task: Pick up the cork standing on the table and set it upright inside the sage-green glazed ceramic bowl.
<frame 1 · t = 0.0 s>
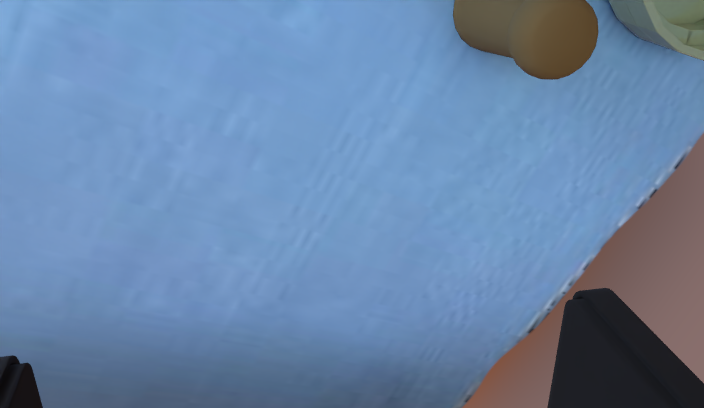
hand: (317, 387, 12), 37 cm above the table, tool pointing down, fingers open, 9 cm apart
cork: (492, 8, 47), on the table
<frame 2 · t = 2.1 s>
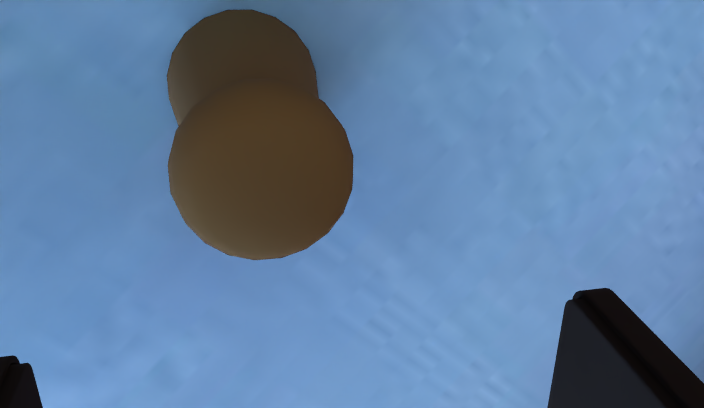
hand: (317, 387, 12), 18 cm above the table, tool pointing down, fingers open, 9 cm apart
cork: (243, 83, 27), on the table
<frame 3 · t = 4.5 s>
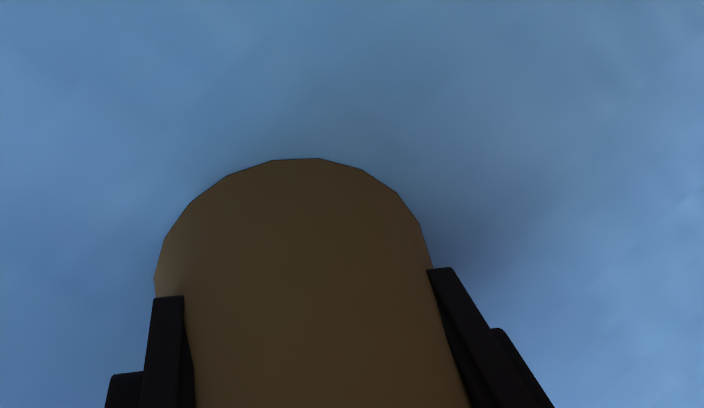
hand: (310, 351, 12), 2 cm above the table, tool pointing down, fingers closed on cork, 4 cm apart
cork: (295, 280, 15), on the table, touching gripper
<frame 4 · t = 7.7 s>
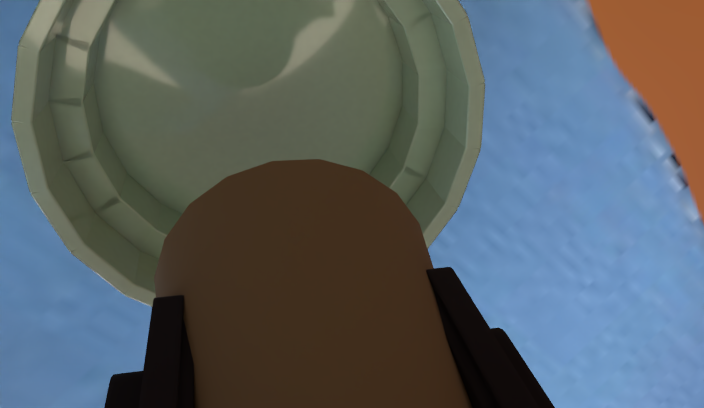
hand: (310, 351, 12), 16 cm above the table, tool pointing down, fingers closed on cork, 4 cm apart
cork: (295, 281, 15), point 14 cm above the table, touching gripper
bowl: (254, 90, 27), on the table
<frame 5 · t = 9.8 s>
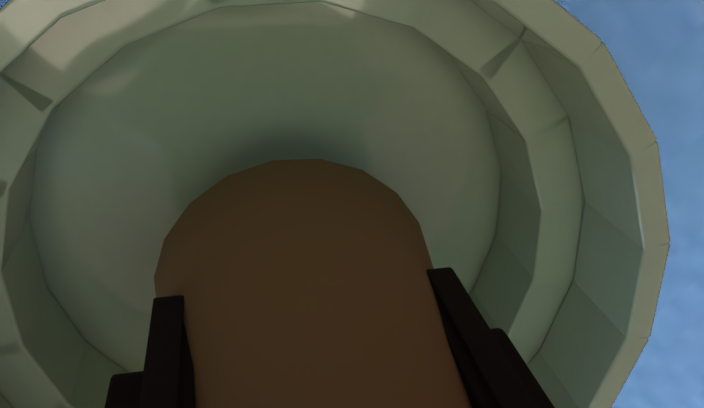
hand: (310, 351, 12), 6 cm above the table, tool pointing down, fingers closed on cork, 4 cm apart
cork: (295, 280, 15), point 3 cm above the table, touching gripper
bowl: (279, 216, 18), on the table
when the fingers open (3 cm above the table, at t = 11.0 s): cork stays where it is, resting on bowl.
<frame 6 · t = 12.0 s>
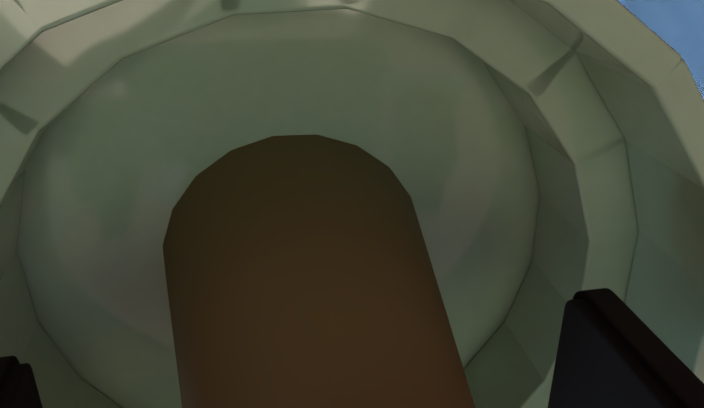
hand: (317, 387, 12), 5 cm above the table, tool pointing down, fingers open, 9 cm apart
cork: (295, 251, 16), resting on bowl
bowl: (294, 241, 16), on the table
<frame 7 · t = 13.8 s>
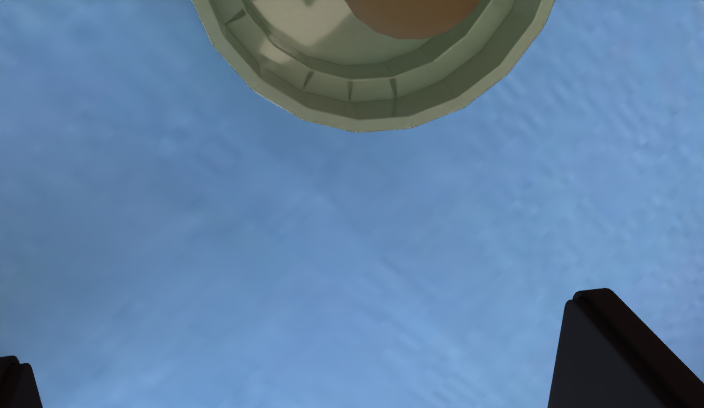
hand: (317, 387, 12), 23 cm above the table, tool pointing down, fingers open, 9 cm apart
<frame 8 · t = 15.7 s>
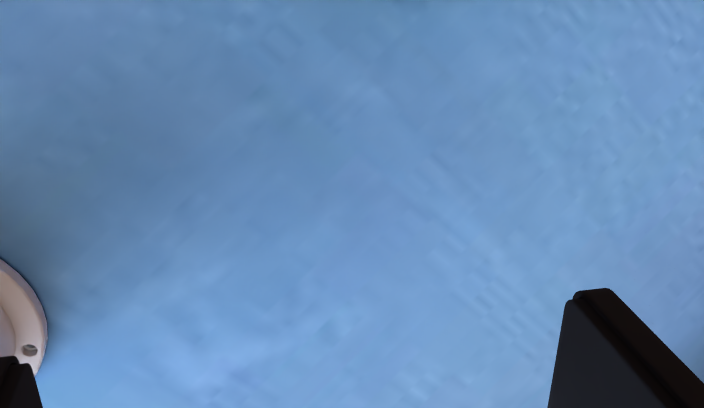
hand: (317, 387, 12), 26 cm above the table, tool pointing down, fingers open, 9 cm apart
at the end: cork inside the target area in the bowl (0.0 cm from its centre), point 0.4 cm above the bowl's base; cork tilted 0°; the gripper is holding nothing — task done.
